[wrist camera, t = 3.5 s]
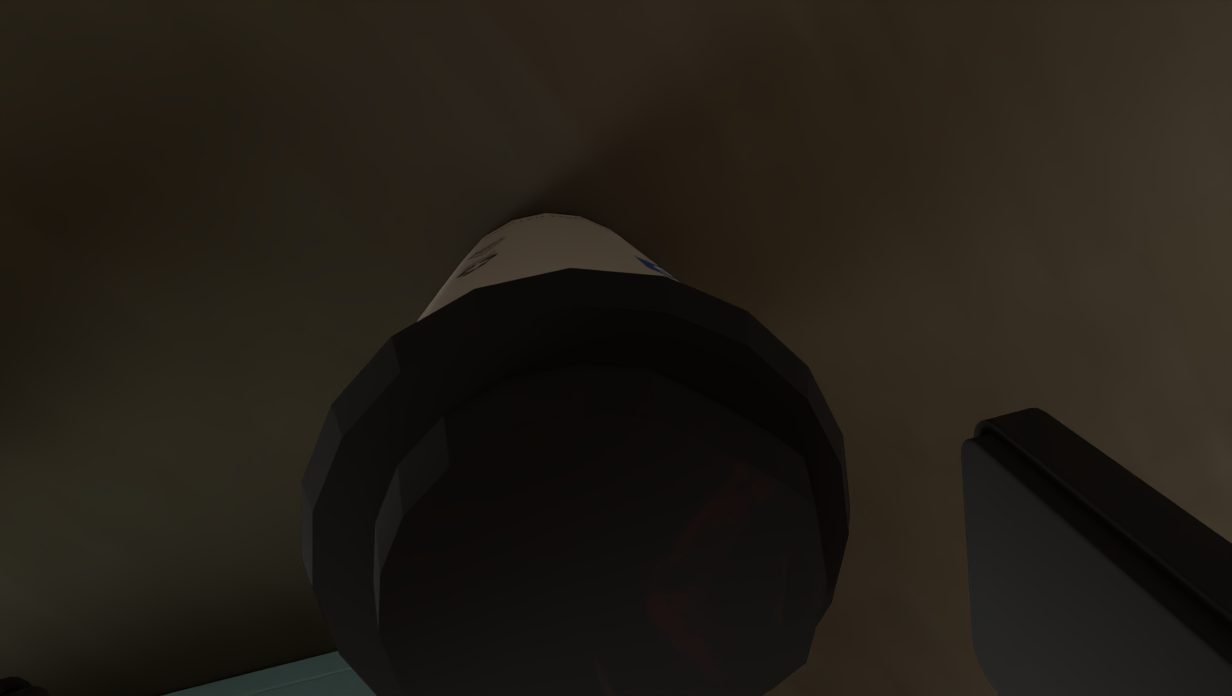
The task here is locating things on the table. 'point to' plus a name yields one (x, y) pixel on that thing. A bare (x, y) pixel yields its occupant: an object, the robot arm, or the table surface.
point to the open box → (290, 681)
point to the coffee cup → (576, 486)
